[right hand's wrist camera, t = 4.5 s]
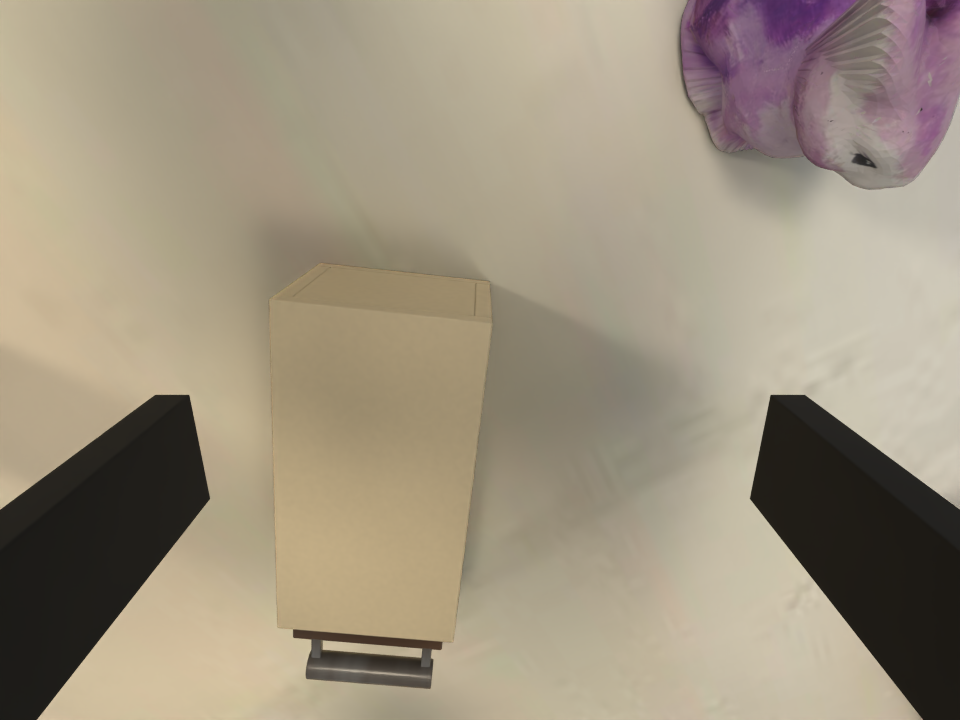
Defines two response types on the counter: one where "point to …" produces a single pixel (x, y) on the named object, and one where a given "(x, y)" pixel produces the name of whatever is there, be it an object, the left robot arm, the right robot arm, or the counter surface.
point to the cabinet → (375, 447)
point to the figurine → (827, 80)
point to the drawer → (369, 661)
